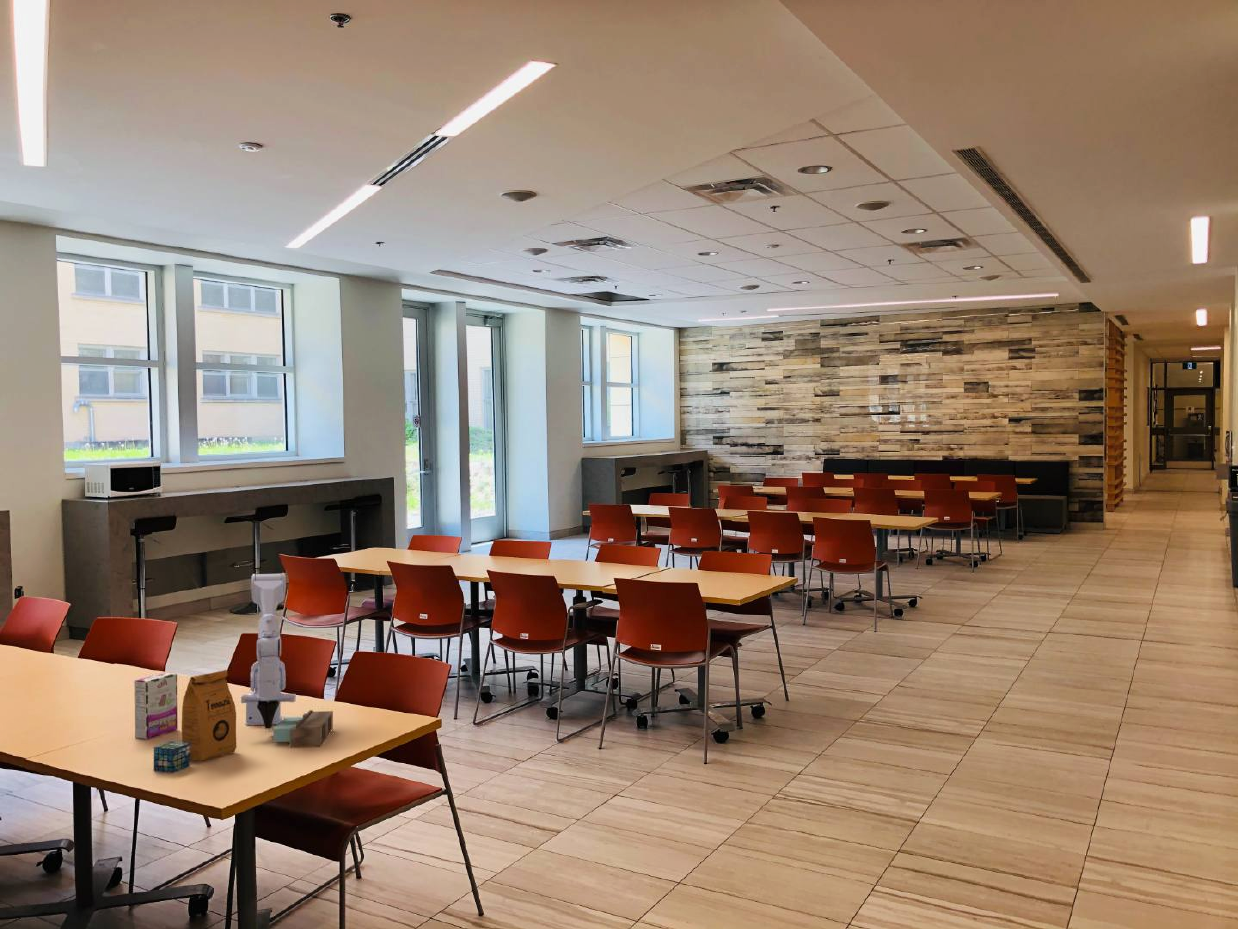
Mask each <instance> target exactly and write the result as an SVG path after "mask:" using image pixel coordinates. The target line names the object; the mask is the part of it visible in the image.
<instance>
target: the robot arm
mask: <svg viewBox="0 0 1238 929" xmlns="http://www.w3.org/2000/svg"><path fill="white" fill-rule="evenodd" d="M286 578H287V577H286V574H285V573H284V572H282V573H260V574H258V573H257V574H256V573H252V575H251V579H250V580H251V582H250V583H251V585H250V586H251V599H252V603H254V604H256V605H258V606H259V610H260V618H259V619H258V621H257V623H258V624H257V625H258V626H257V627H258V628H257V629H258V631H257V632H258V634H257V638H258V639H257V640H256V659H257V661H256V662H254V663H253V664H252V665H251V667H250V669H251V670H250V691H251V692H249V693H248V694H242V695H241V697H240V703H241V704H245V726H261V725H262V726H264V729H269V730H270V729H271V728H272V726H273V725H272V724H275V725H280V724H281V721H282V719H283V718H284V717H285V716H284V715H281V712H282V711H281V709H282V708H281V707H282V706H281V704H282V703H295V702H296V700H297V699H296V696H297V694H296V693H284V692H283V693H282V691H283V690H285V688H286V682H287V681H286V677H287V676H286V666H285V663H284V662H283V661H282V660H281V659H280V657H281V655H282V638H281V633H280V619H279V617H278V616H276V613H277V612H276V611H277V608H278V605H279V604H281V603H282V602H284V601H285V598H286V590H287V589H286V587H287V585H286V584H287V583H286V580H287V579H286ZM278 652H279V653H278ZM278 654H279V655H278Z"/></svg>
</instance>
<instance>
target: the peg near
mask: <svg viewBox="0 0 1238 929" xmlns="http://www.w3.org/2000/svg"><path fill="white" fill-rule="evenodd" d="M292 727H296V725H281V724H276V725H275V726H274V728H273V734H272V735H273V739H272V740H273V741H272V742H273V743H282V742H283V743H287V742H288V743H290V729H291V728H292Z"/></svg>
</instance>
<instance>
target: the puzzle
mask: <svg viewBox="0 0 1238 929" xmlns="http://www.w3.org/2000/svg"><path fill="white" fill-rule="evenodd" d="M190 766H191V759H190V743H184V742H182V741H181V742H180V741H175V740H174V741H173V740H170V741H167V742H165V743H162V744H160V745H157V746H154V747H153V772H157V773H166V774H167V773H168V774H175V773H178V772H179V771H182V770H185V769H186V768H190Z"/></svg>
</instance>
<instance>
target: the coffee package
mask: <svg viewBox="0 0 1238 929" xmlns="http://www.w3.org/2000/svg"><path fill="white" fill-rule="evenodd" d="M226 677H228V671H227V669H224V670H219V671H215V672H211V673H210V672H209V673H205V674H204V673H203V674H198V675H194V676H190V679H189V681H188V684H187V687H186V690H185V692H184V696H183V700H182V708H181V709H182V710H181V742H184V743H190V760H193V761H206V760H209V759H215V758H220V757H224V756H226V755H229V754H233V753H235V752H236V749H237V748H238V747H237V746H238V745H237V711H236V705H235V701H234V698H233V696H232V693H231V691H230V689H229V684H228V682H227V679H226Z"/></svg>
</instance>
